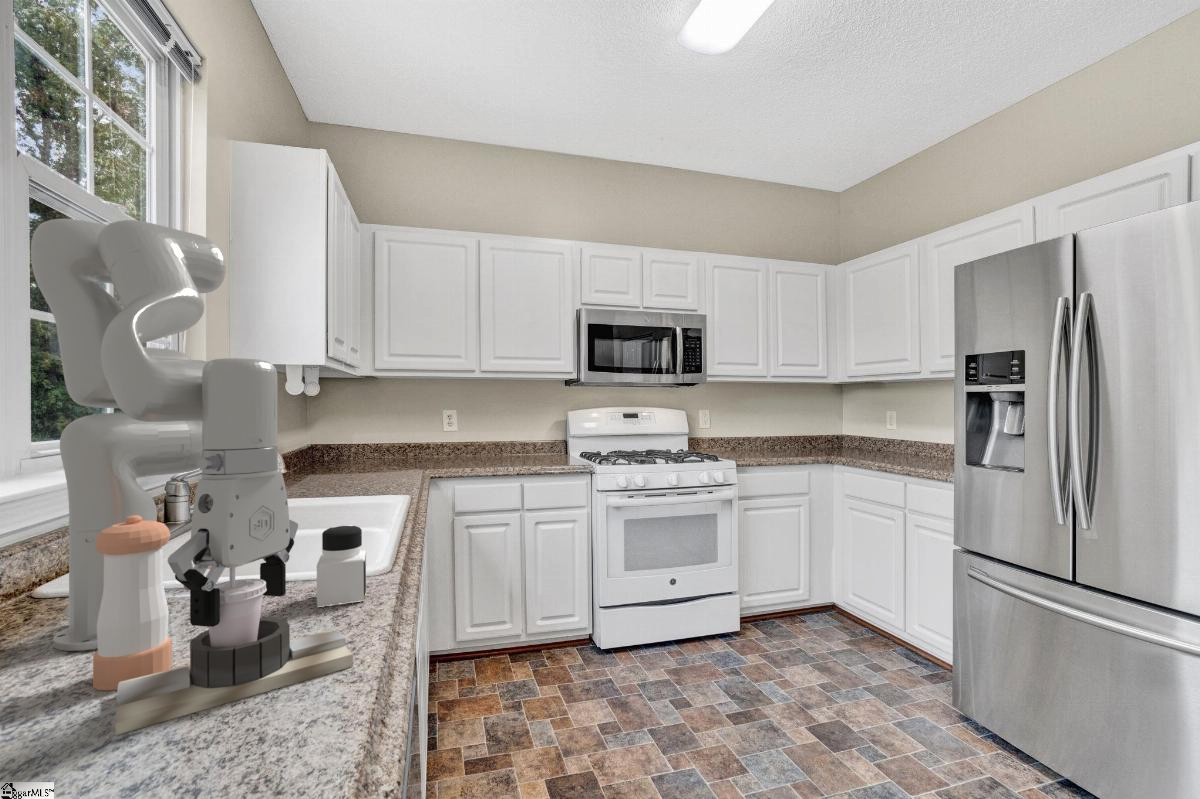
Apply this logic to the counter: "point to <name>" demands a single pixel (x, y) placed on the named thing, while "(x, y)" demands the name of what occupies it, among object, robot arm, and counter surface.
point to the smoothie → (238, 611)
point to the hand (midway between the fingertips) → (241, 609)
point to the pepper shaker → (132, 604)
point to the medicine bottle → (341, 566)
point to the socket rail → (226, 694)
